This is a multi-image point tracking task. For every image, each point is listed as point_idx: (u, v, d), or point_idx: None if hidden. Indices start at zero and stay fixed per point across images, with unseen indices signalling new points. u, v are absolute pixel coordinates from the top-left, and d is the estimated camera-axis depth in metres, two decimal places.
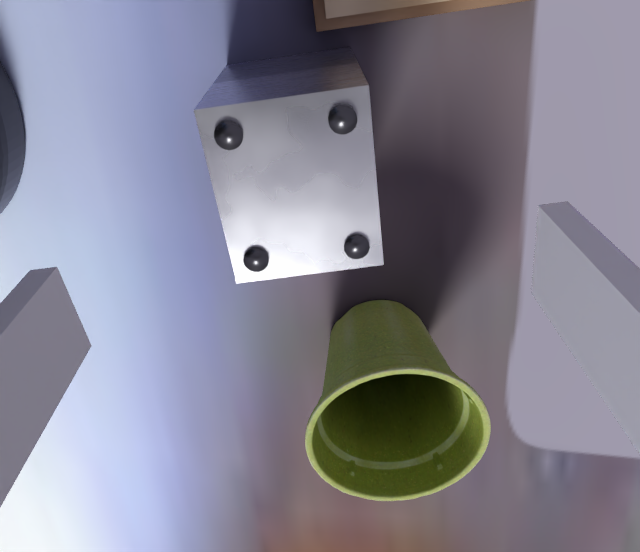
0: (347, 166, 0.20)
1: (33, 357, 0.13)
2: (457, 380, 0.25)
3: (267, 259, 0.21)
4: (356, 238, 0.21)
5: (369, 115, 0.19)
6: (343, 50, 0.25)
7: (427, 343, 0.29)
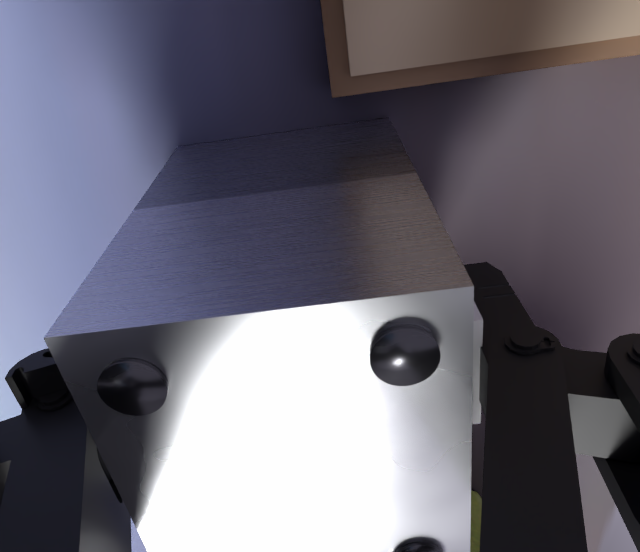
0: (408, 436, 0.09)
1: None
2: None
3: None
4: (419, 545, 0.10)
5: (468, 346, 0.08)
6: (378, 127, 0.14)
7: None
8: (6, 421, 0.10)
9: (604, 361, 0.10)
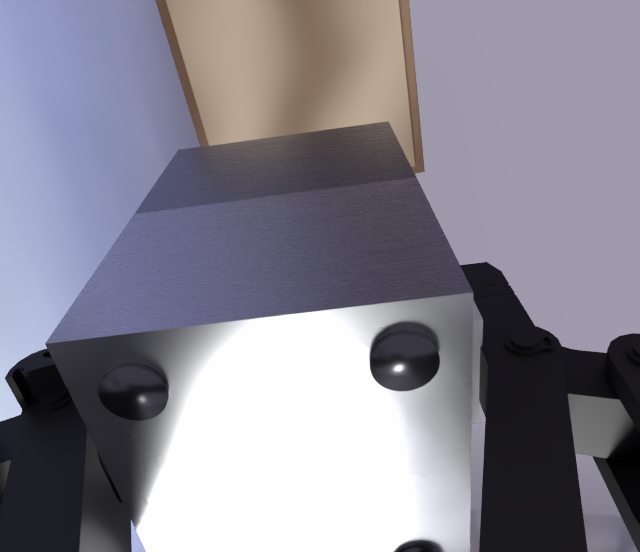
0: (408, 440, 0.09)
1: None
2: None
3: None
4: (419, 549, 0.10)
5: (468, 351, 0.08)
6: (378, 131, 0.14)
7: None
8: (6, 421, 0.10)
9: (604, 361, 0.10)
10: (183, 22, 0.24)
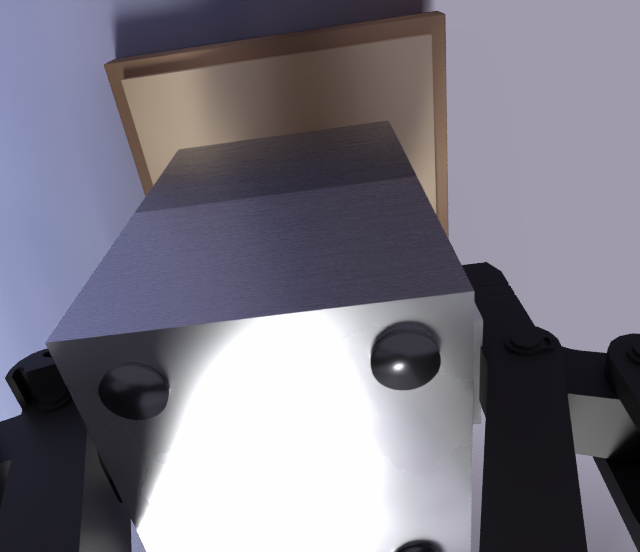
0: (408, 439, 0.09)
1: None
2: None
3: None
4: (419, 548, 0.10)
5: (469, 350, 0.08)
6: (379, 130, 0.14)
7: None
8: (6, 421, 0.10)
9: (604, 361, 0.10)
10: (147, 119, 0.18)
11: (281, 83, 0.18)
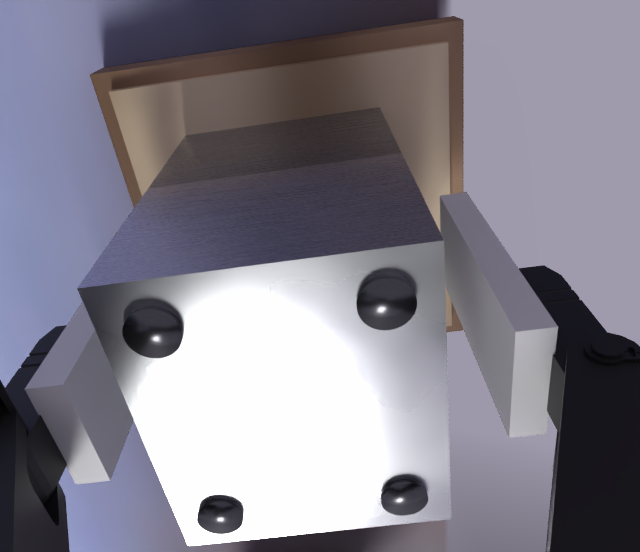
0: (392, 377, 0.10)
1: None
2: None
3: (241, 514, 0.12)
4: (404, 483, 0.11)
5: (441, 294, 0.09)
6: (370, 115, 0.16)
7: None
8: None
9: None
10: (137, 134, 0.17)
11: (284, 95, 0.16)
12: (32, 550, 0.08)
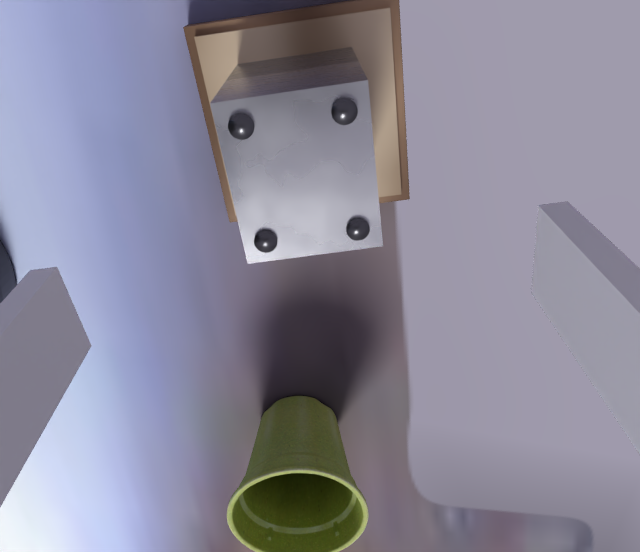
0: (348, 154, 0.21)
1: (33, 357, 0.13)
2: (336, 477, 0.34)
3: (276, 241, 0.23)
4: (357, 220, 0.23)
5: (368, 107, 0.21)
6: (345, 50, 0.27)
7: (326, 438, 0.38)
8: None
9: None
10: (209, 63, 0.28)
11: (295, 39, 0.28)
12: None
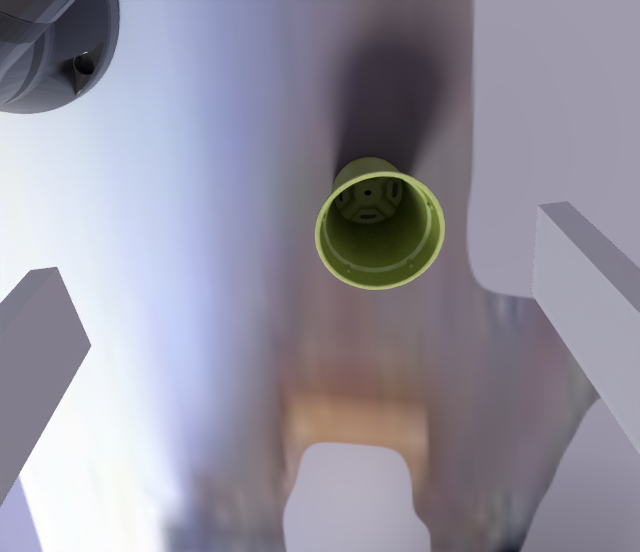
0: None
1: (33, 357, 0.13)
2: (419, 182, 0.37)
3: None
4: None
5: None
6: None
7: None
8: None
9: None
10: None
11: None
12: None
